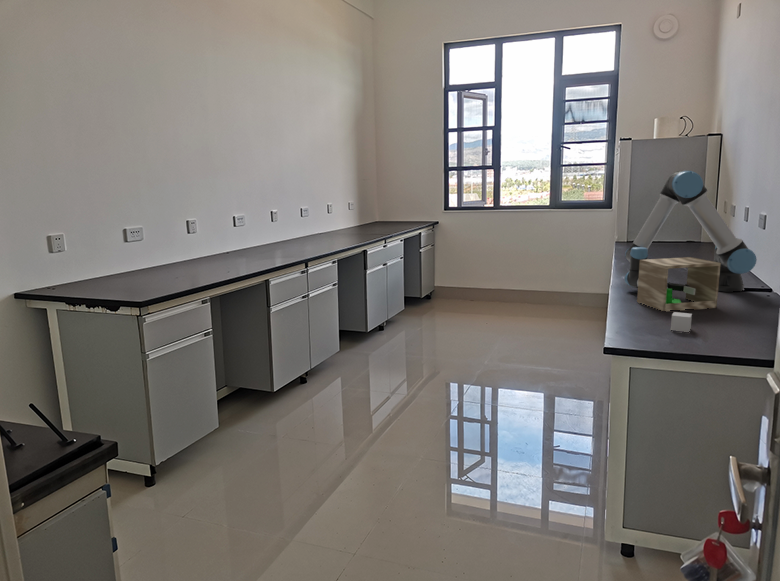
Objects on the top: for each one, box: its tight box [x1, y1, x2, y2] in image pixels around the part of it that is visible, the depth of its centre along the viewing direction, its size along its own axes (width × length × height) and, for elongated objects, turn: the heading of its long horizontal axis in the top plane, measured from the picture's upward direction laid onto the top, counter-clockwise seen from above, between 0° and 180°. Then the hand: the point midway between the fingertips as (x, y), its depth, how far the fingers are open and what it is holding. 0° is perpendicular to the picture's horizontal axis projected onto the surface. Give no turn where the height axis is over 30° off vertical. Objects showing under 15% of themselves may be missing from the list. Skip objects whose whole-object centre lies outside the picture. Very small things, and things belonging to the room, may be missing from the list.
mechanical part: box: [666, 288, 682, 304], centre depth 244 cm, size 12×6×8 cm, turn 158°
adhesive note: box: [670, 311, 693, 333], centre depth 207 cm, size 6×6×6 cm
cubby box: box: [636, 256, 721, 312], centre depth 244 cm, size 25×18×19 cm
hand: (680, 292), depth 242 cm, fingers open, 13 cm apart
